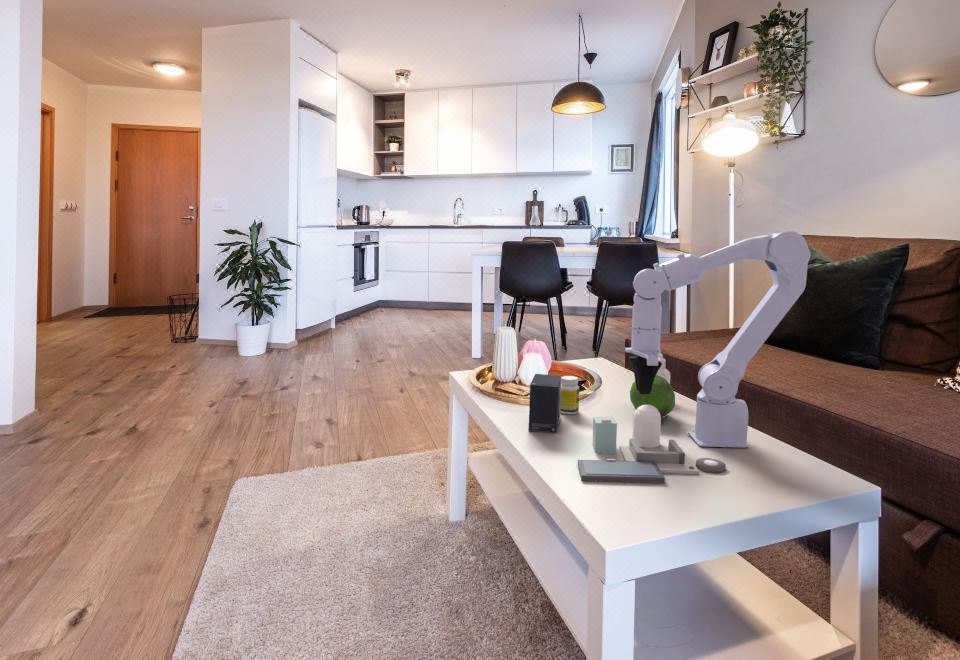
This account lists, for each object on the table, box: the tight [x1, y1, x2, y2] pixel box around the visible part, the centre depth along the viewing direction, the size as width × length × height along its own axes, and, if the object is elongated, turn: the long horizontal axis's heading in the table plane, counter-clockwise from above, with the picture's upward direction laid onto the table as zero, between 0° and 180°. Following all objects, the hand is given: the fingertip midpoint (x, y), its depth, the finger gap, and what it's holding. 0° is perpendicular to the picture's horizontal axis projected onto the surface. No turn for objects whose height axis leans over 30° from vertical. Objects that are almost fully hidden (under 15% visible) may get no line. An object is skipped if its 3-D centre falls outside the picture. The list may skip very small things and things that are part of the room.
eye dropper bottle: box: [656, 353, 671, 385], centre depth 146 cm, size 4×6×12 cm
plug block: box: [592, 416, 618, 454], centre depth 112 cm, size 4×4×7 cm
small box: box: [528, 373, 562, 434], centre depth 127 cm, size 11×6×10 cm, turn 168°
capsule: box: [632, 405, 662, 449], centre depth 116 cm, size 5×5×8 cm
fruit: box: [629, 375, 676, 418], centre depth 134 cm, size 15×10×10 cm, turn 172°
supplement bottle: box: [560, 375, 580, 415], centre depth 136 cm, size 5×5×8 cm
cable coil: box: [695, 457, 727, 474], centre depth 104 cm, size 5×5×1 cm
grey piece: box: [618, 438, 700, 475], centre depth 107 cm, size 12×12×2 cm
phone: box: [577, 458, 666, 484], centre depth 101 cm, size 14×7×1 cm, turn 86°
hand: (643, 392), depth 119 cm, fingers closed
